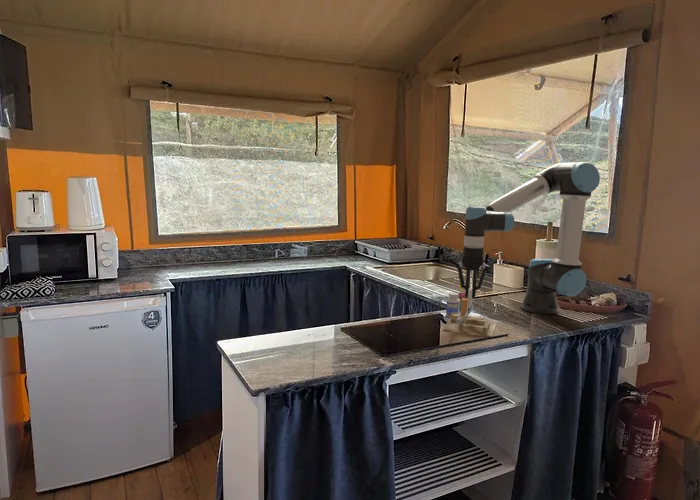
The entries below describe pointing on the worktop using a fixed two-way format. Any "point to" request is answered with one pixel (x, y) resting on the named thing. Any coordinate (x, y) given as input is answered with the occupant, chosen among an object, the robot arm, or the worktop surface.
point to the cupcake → (462, 295)
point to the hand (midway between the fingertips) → (469, 305)
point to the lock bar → (462, 311)
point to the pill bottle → (453, 304)
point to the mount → (470, 326)
